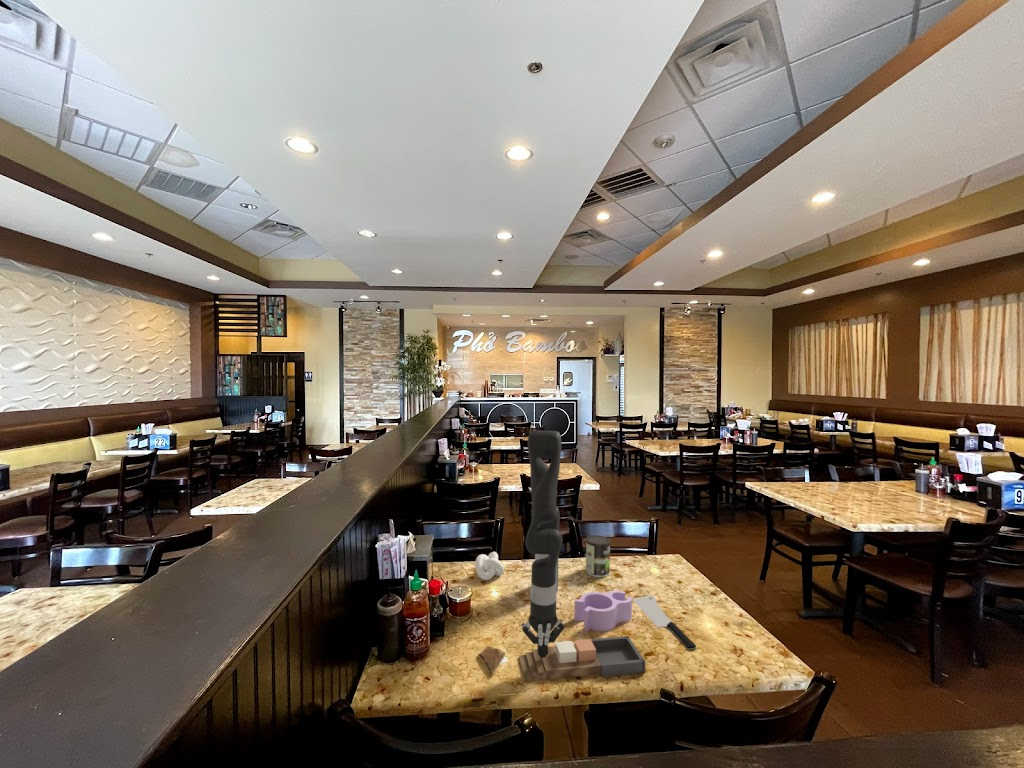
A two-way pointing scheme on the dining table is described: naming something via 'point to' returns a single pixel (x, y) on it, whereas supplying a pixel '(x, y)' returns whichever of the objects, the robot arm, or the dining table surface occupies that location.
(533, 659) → the brown stairs
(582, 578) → the dining table surface
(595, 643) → the box
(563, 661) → the tile cream
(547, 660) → the board
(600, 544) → the coffee can
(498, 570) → the white knot
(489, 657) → the shard
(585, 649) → the tile terracotta
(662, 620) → the kitchen cleaver
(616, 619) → the purple double cup holder
